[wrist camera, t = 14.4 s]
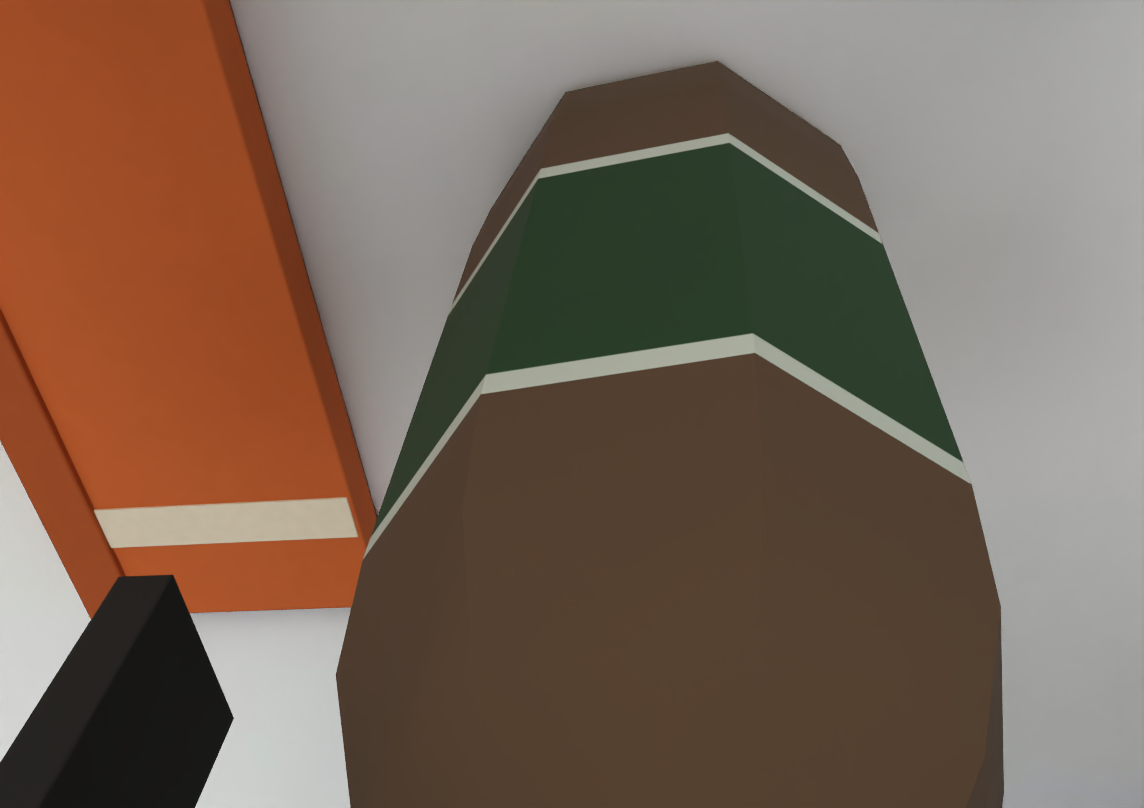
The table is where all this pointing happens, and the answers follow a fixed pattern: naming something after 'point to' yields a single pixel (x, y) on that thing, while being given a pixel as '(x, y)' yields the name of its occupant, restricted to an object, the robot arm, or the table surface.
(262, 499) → the towel
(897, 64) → the table surface
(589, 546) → the beer bottle
